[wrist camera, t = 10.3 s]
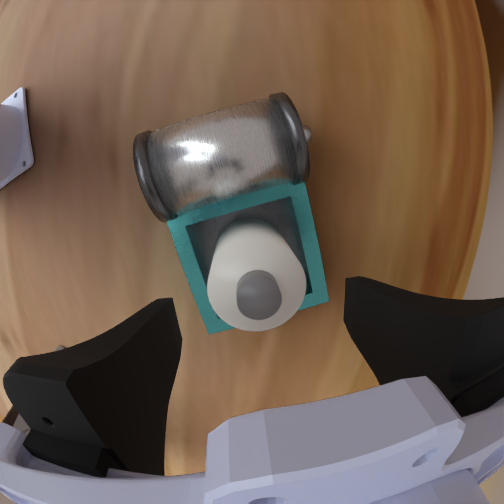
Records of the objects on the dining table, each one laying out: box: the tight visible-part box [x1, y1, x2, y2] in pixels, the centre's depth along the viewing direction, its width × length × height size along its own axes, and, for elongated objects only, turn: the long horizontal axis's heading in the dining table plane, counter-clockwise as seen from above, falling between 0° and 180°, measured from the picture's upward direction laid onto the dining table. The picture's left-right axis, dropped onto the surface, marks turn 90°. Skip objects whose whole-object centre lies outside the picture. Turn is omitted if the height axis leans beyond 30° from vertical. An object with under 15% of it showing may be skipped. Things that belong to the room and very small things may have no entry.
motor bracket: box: [133, 92, 329, 334], centre depth 16 cm, size 10×14×6 cm
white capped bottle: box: [207, 218, 306, 331], centre depth 16 cm, size 5×5×7 cm
